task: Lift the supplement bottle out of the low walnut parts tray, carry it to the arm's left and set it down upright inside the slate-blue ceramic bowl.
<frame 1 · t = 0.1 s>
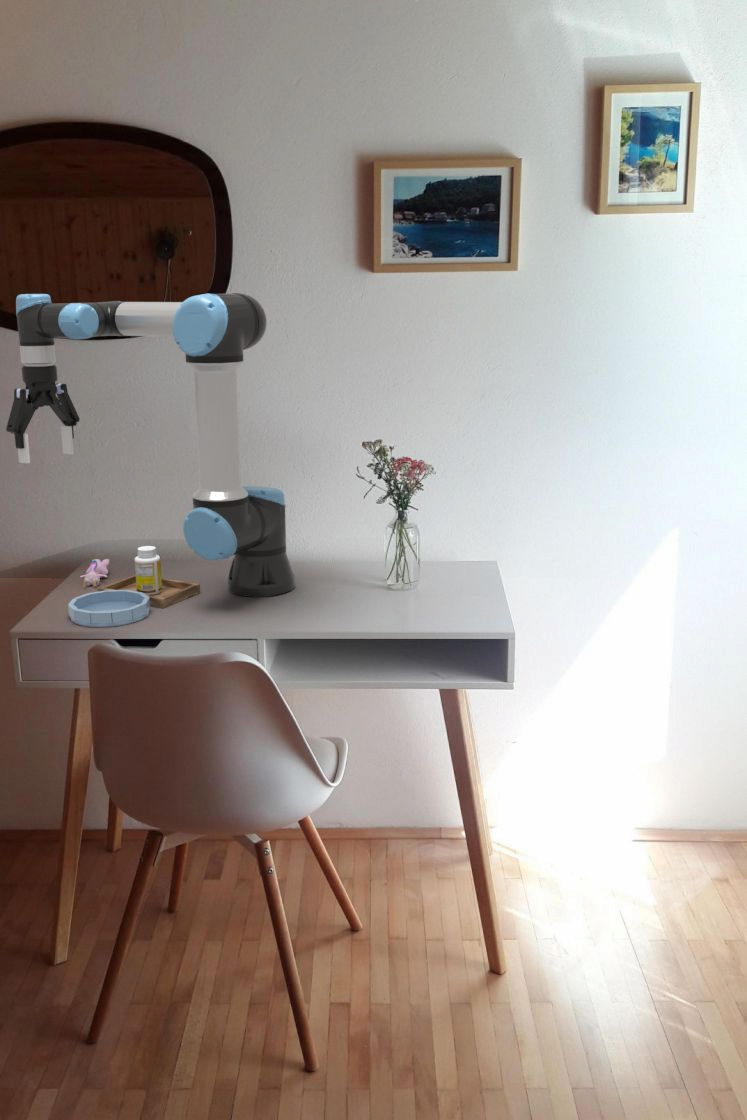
hand: (47, 458, 245), 28 cm above the table, tool pointing down, fingers open, 13 cm apart
parts tray: (149, 594, 236), on the table
bowl: (110, 614, 223), on the table
rabbit figure: (97, 581, 249), on the table
supplement bottle: (149, 593, 236), resting on parts tray
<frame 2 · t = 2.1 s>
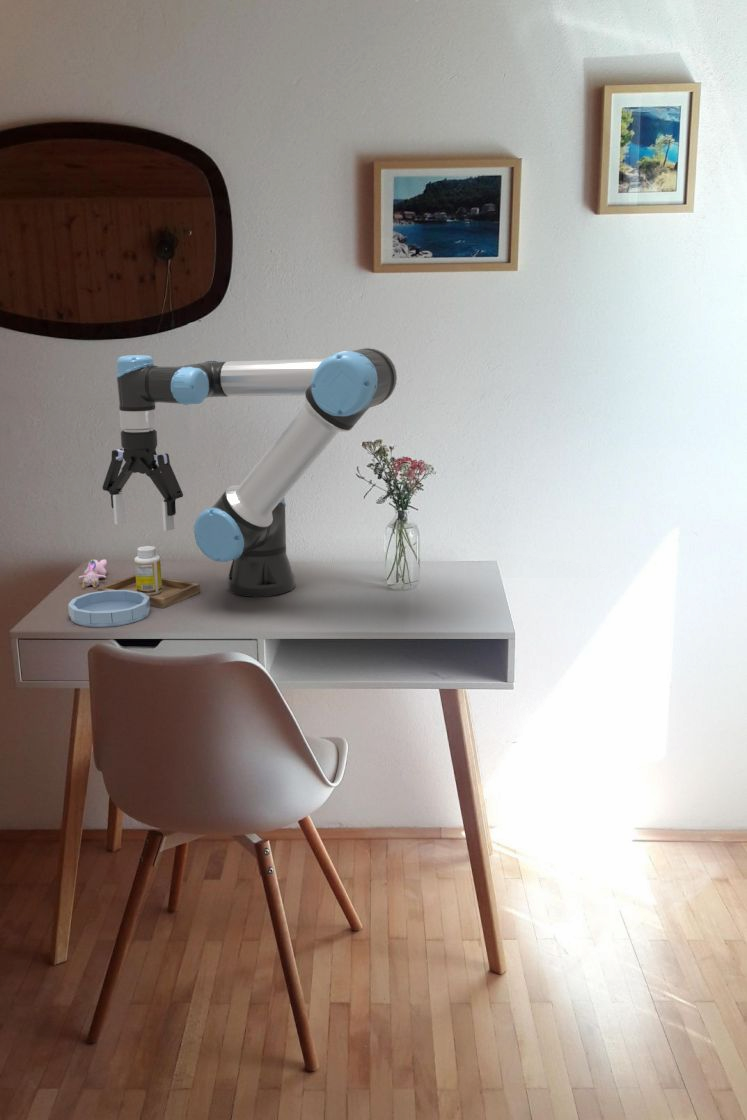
hand: (144, 526, 232), 16 cm above the table, tool pointing down, fingers open, 13 cm apart
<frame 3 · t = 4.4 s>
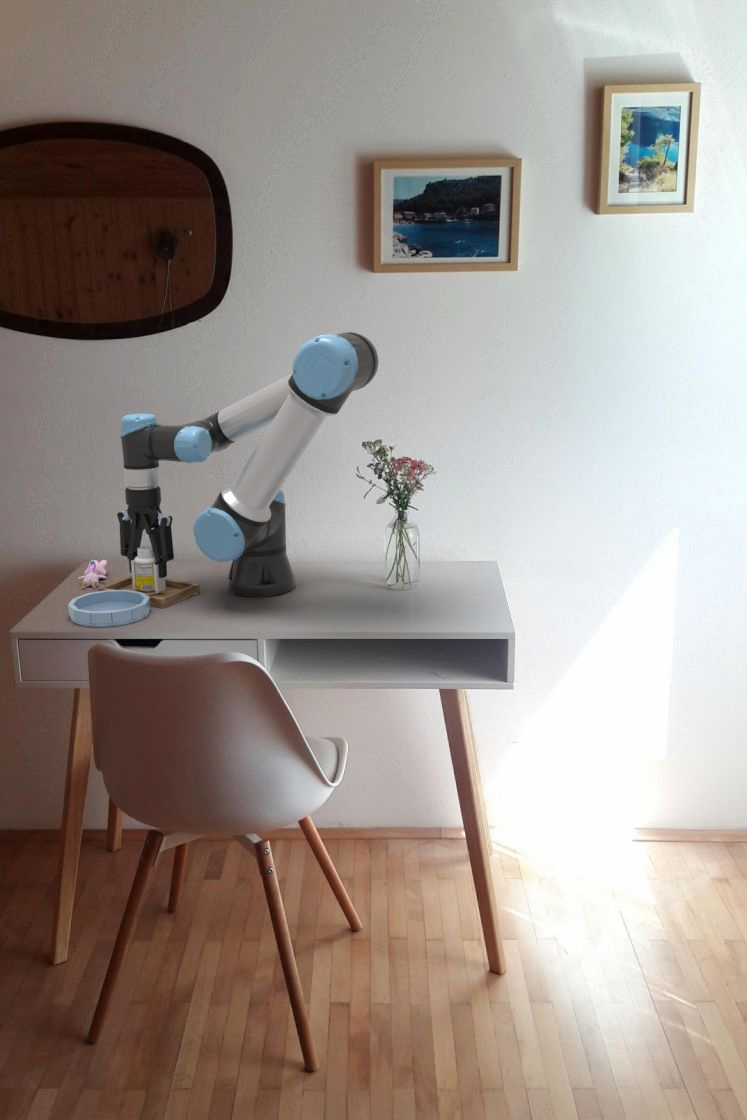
hand: (149, 589, 236), 1 cm above the table, tool pointing down, fingers closed on supplement bottle, 6 cm apart
supplement bottle: (149, 593, 236), resting on parts tray, touching gripper
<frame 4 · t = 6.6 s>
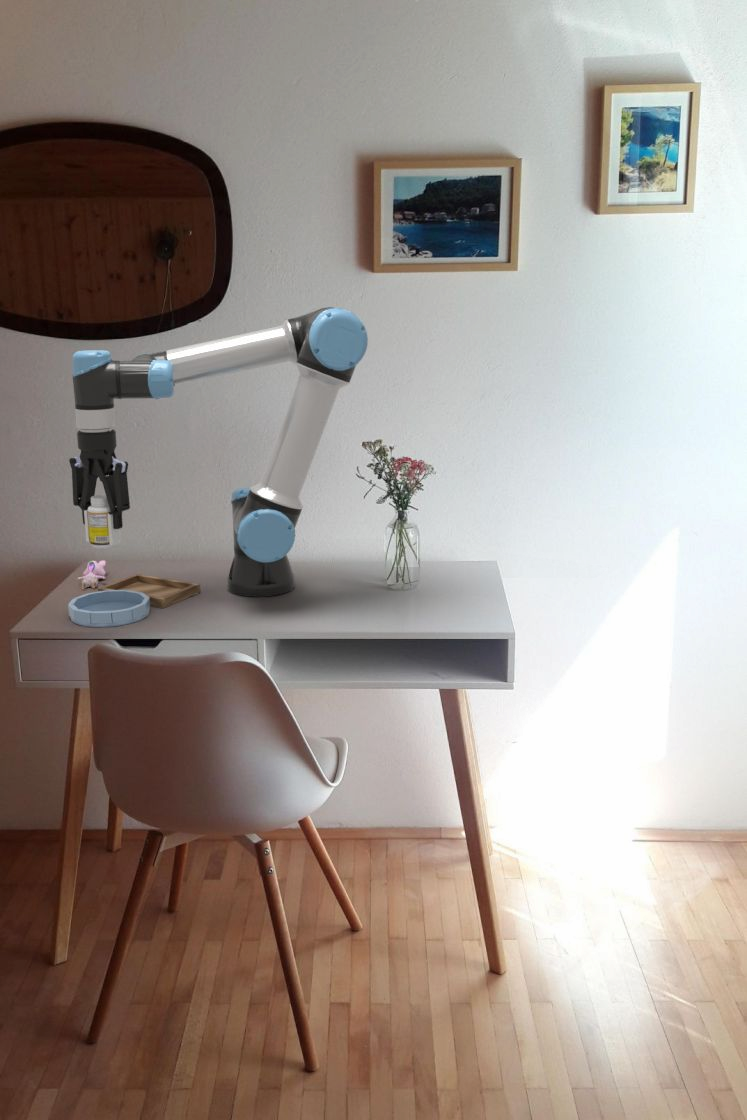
hand: (103, 541, 219), 16 cm above the table, tool pointing down, fingers closed on supplement bottle, 6 cm apart
supplement bottle: (104, 546, 219), point 15 cm above the table, touching gripper
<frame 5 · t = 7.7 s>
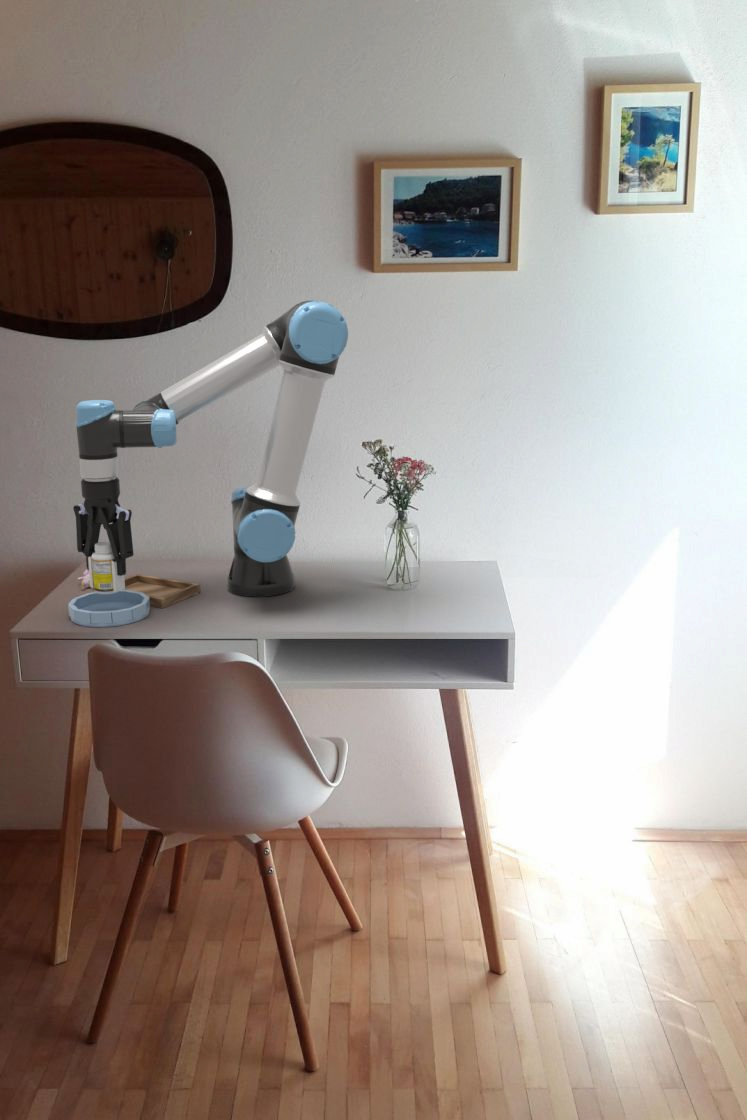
hand: (107, 587, 221), 6 cm above the table, tool pointing down, fingers closed on supplement bottle, 6 cm apart
supplement bottle: (108, 592, 221), point 5 cm above the table, touching gripper
when the fingers open (3 cm above the table, at t = 8.9 s): supplement bottle drops 1 cm, resting on bowl.
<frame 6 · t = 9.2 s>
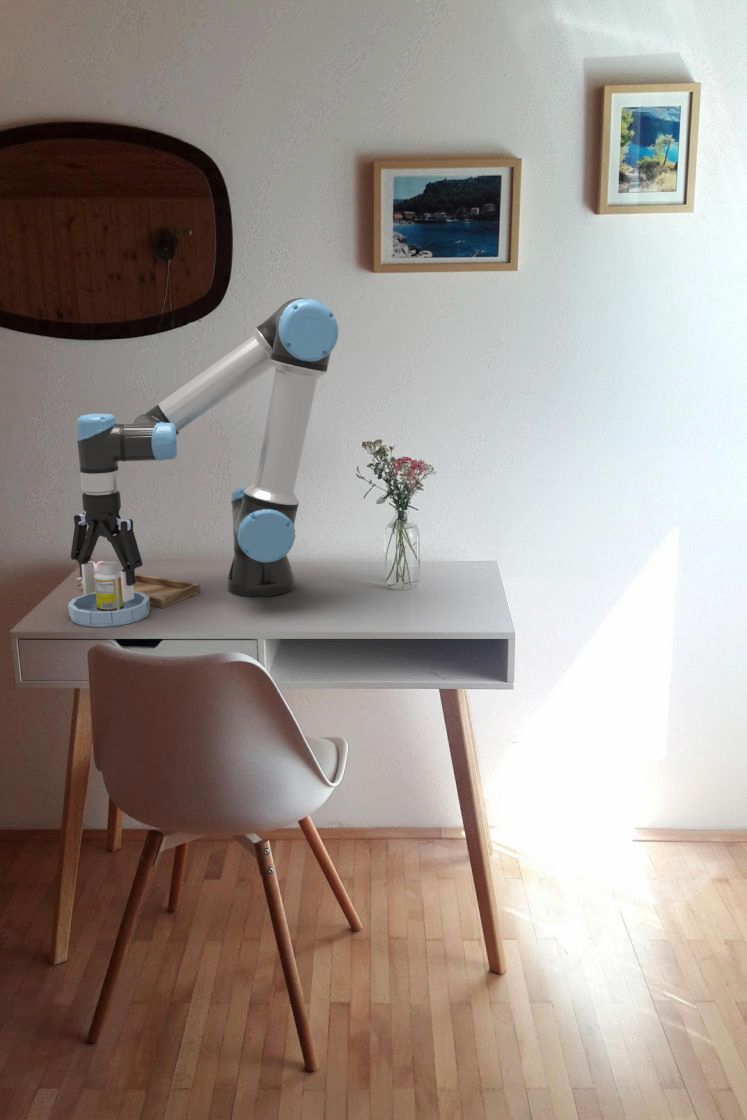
hand: (108, 596, 222), 4 cm above the table, tool pointing down, fingers open, 10 cm apart
supplement bottle: (110, 611, 223), point 1 cm above the table, touching bowl
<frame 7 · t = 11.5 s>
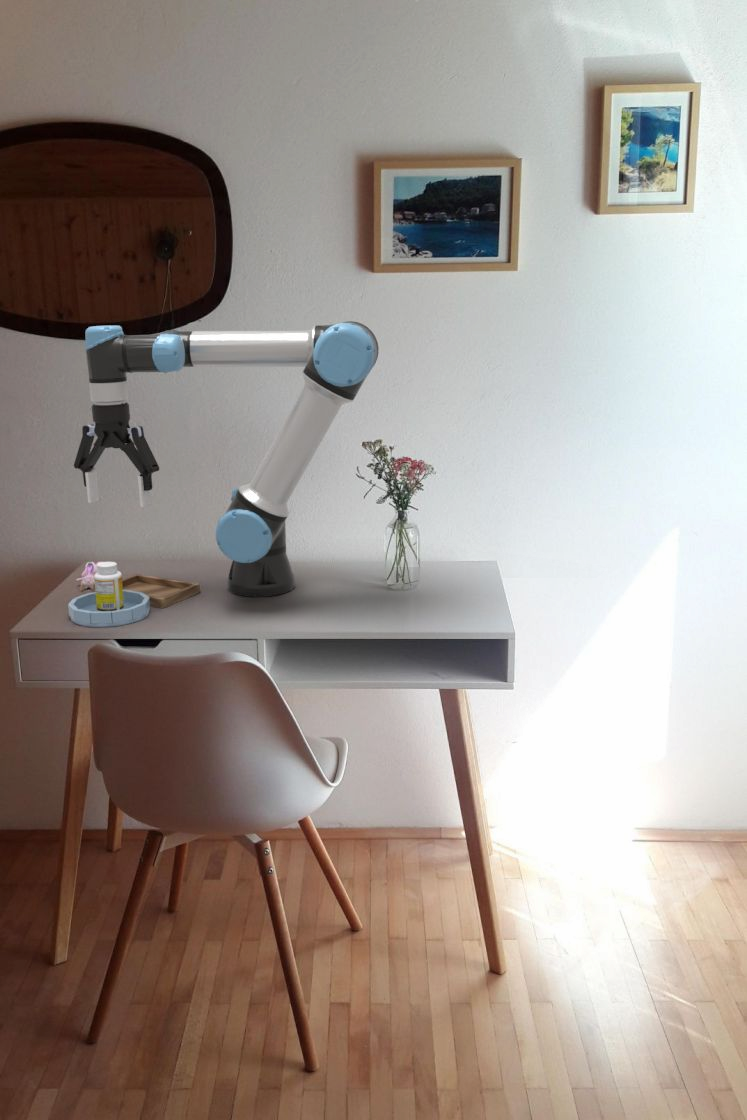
hand: (119, 503, 225), 22 cm above the table, tool pointing down, fingers open, 13 cm apart
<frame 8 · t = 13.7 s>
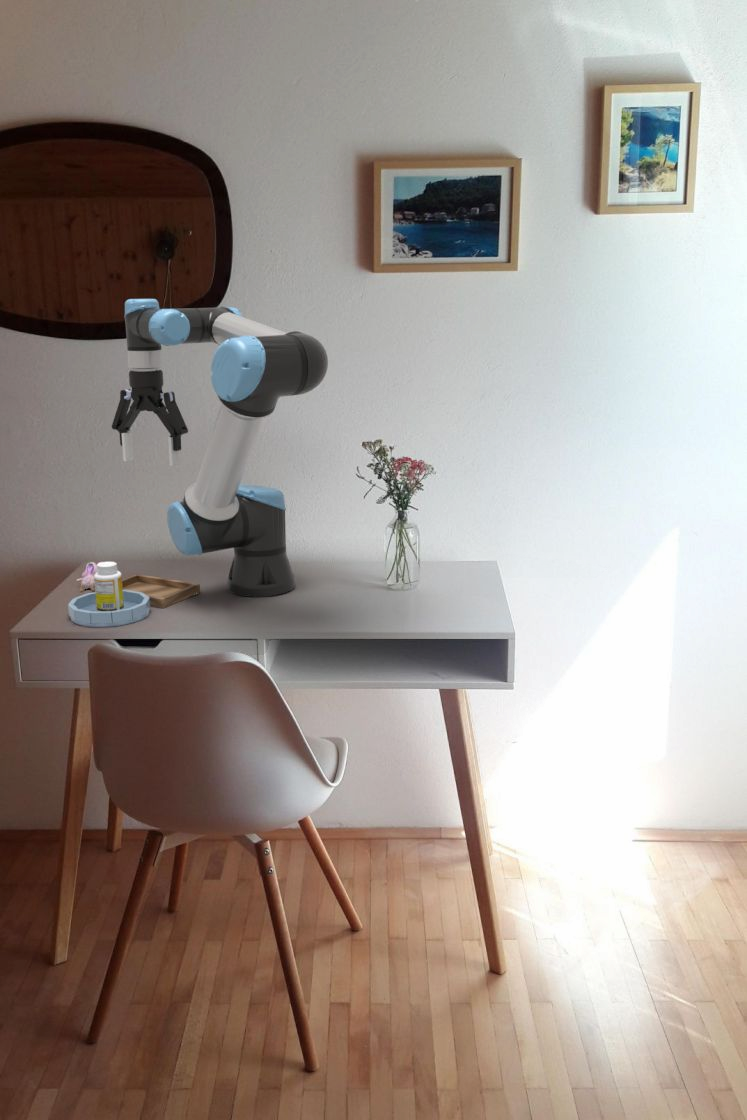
hand: (151, 462, 245), 27 cm above the table, tool pointing down, fingers open, 13 cm apart
at the end: supplement bottle 0.2 cm from the bowl (horizontally); supplement bottle tilted 0°; supplement bottle point 0.6 cm above the table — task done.
